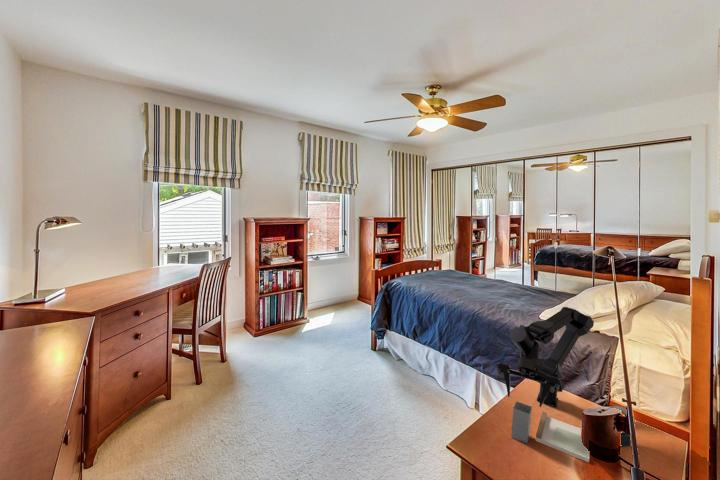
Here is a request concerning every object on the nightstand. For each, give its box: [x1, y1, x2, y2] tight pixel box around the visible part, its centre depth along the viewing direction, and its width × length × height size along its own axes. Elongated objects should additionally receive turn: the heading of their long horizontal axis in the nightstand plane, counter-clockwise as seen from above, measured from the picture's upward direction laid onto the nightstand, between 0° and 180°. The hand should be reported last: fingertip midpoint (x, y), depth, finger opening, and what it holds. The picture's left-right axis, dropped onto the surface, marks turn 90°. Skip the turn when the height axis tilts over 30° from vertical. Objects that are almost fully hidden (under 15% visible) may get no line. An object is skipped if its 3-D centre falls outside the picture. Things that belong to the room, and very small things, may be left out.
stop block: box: [510, 401, 533, 445], centre depth 100 cm, size 4×4×10 cm
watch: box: [609, 404, 636, 447], centre depth 99 cm, size 6×8×11 cm
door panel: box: [535, 411, 591, 463], centre depth 100 cm, size 14×14×2 cm
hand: (524, 401), depth 102 cm, fingers open, 9 cm apart
